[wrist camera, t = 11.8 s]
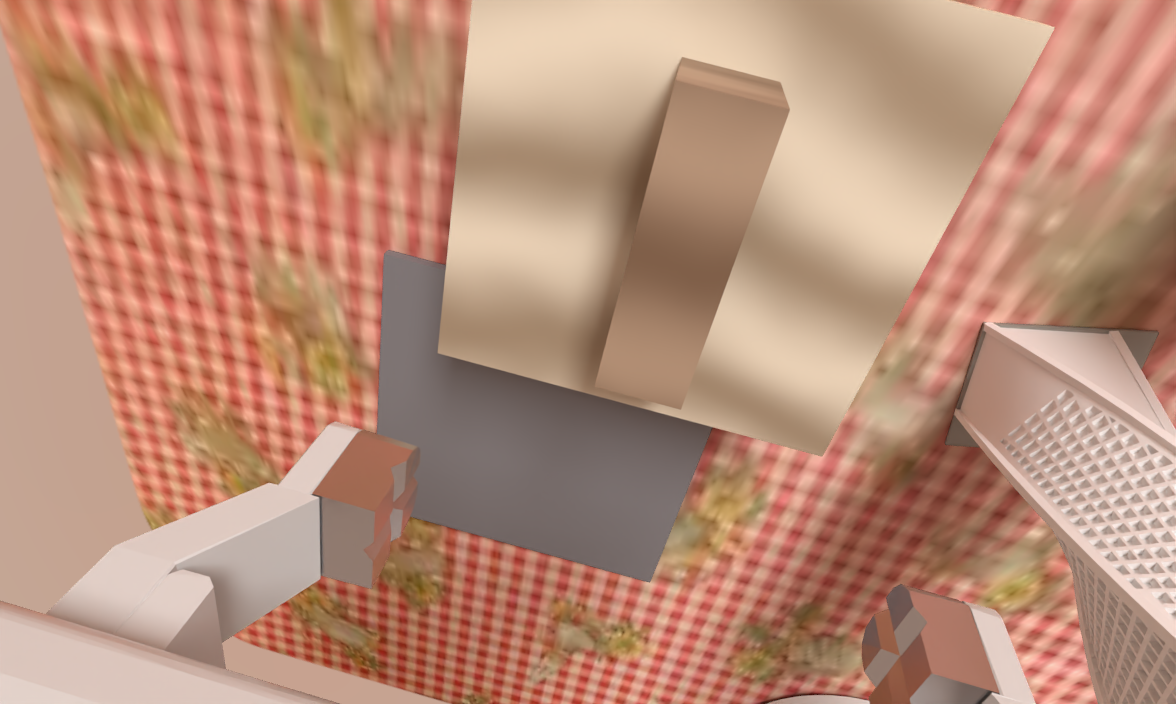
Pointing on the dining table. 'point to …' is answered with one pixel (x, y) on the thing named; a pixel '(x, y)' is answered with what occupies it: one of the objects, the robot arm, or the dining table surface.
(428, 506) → the rubber mat
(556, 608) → the dining table surface
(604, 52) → the cover board
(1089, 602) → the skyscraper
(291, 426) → the dining table surface
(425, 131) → the dining table surface
